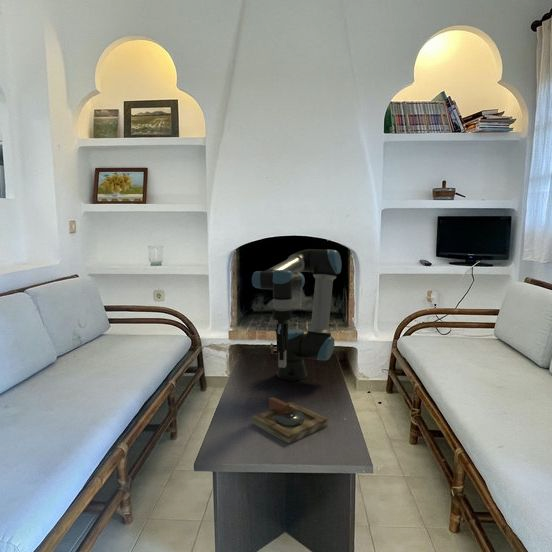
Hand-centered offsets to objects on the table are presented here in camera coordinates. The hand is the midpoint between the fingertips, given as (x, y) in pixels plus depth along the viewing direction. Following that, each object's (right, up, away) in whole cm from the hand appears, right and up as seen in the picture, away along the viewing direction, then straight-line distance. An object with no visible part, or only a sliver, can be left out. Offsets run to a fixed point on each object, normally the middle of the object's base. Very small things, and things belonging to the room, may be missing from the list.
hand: (282, 366), depth 167 cm
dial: (+1, -18, -9) cm, 20 cm away
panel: (+3, -20, -10) cm, 22 cm away
